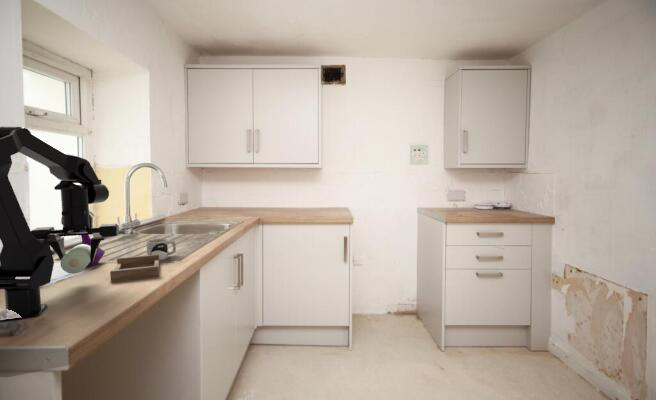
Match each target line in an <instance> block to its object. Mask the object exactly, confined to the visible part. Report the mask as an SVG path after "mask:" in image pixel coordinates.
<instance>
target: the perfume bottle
mask: <svg viewBox="0 0 656 400" xmlns="http://www.w3.org/2000/svg"><path fill="white" fill-rule="evenodd" d="M89 214H90V215H91V216H92V217H93V218H95V214H94V213H93V212H92V211H90V210H89ZM80 237H81V244H86V245H89V246H91V239H92V238H91V236H90V235H80ZM105 253H106V252H105V251H104V250H103V249H102V248H101V247H100V246H98V248H97V252H96V255H95V258H94V261H93V263H91V261H90V263H89V264H88V265H87V267H94V266H96V265H97V264H98V263H99V262H100V261H101V259H102V258H103V256H104V254H105Z"/></svg>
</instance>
